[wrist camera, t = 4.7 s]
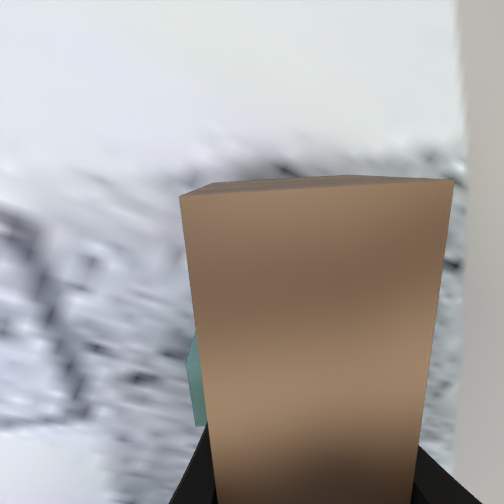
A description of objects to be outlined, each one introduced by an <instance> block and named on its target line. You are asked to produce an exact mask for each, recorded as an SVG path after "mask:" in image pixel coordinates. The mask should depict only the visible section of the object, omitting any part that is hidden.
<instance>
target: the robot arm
mask: <svg viewBox="0 0 504 504" xmlns="http://www.w3.org/2000/svg"><path fill="white" fill-rule="evenodd" d="M169 504H218V500H217V492H216V484H215V476H214V468H213V460H212V452H211V445H210V437H209V429H208V421H207V423H206V426H205V429H204V431H203V434H202V436H201V439H200V441H199V443H198V446H197V448H196V450H195V452H194V455H193V457H192V459H191V461H190V463H189V465H188V467H187V469H186V471H185V473H184V475H183V477H182V479H181V481H180V483H179V485H178V487H177V489H176V491H175V493H174V494H173V496H172V498H171V500H170V502H169ZM410 504H482V503H481V502H480V501H479V500H477V499H476V498H475V497H474V496H473V495H472V494H471V493H469V492H468V491H467V490H466V489H465V488H464V487H463V486H462V485H461V484H459V483H458V482H457V481H456V480H455V479H454V478H453V477H452V476H451V475H449V474H448V473H447V472H446V471H445V470H444V469H443V468H442V467H441V466H440V465H439V464H438V463H437V462H436V461H435V460H434V459H433V458H432V457H430V456H429V455H428V454H427V453H426V452H425V451H424V450H423V449H422V448H421V447H420V446H419V445H418V451H417V458H416V465H415V473H414V480H413V487H412V495H411V502H410Z"/></svg>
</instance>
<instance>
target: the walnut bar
mask: <svg viewBox="0 0 504 504" xmlns="http://www.w3.org/2000/svg"><path fill="white" fill-rule="evenodd" d="M454 181H455V180H449V179H427V178H405V177H384V176H362V175H338V176H321V177H304V178H287V179H271V180H254V181H237V182H220V183H212V184H209V185H207V186H204V187H201V188H199V189H196V190H194V191H191V192H189V193H186V194H184V195H181V196H179V200H180V208H181V216H182V223H183V231H184V239H185V247H186V255H187V263H188V271H189V279H190V287H191V294H192V302H193V310H194V318H195V326H196V334H197V342H198V350H199V358H200V366H201V373H202V381H203V389H204V397H205V405H206V413H207V421H208V429H209V437H210V445H211V452H212V460H213V468H214V476H215V484H216V492H217V500H218V504H410V502H411V495H412V487H413V480H414V473H415V465H416V458H417V451H418V444H419V436H420V429H421V422H422V414H423V407H424V400H425V393H426V385H427V378H428V371H429V363H430V356H431V349H432V342H433V334H434V327H435V320H436V312H437V305H438V298H439V291H440V283H441V276H442V269H443V261H444V254H445V247H446V239H447V232H448V225H449V218H450V210H451V203H452V196H453V188H454Z"/></svg>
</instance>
